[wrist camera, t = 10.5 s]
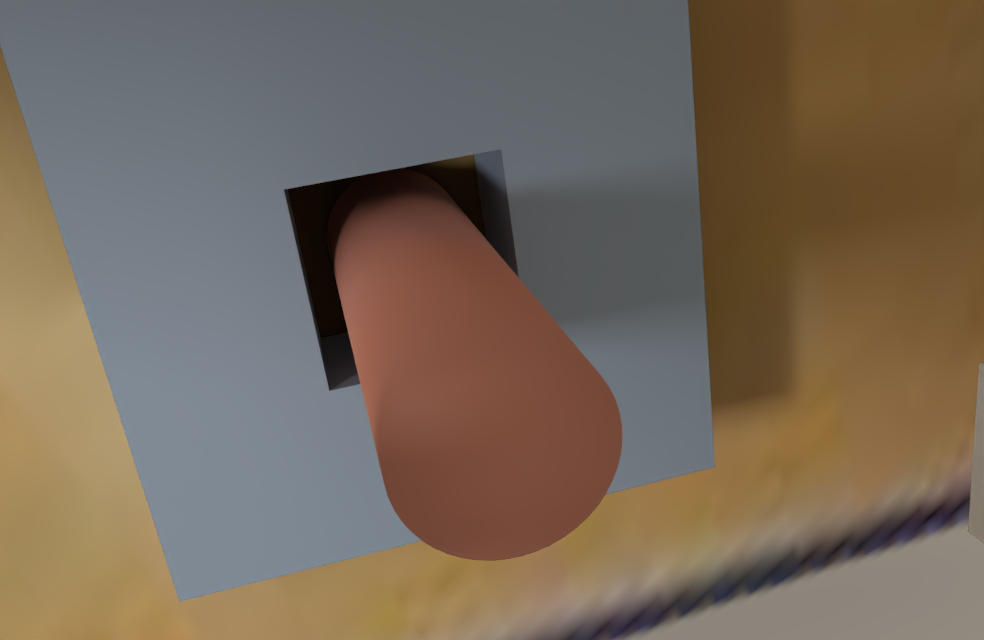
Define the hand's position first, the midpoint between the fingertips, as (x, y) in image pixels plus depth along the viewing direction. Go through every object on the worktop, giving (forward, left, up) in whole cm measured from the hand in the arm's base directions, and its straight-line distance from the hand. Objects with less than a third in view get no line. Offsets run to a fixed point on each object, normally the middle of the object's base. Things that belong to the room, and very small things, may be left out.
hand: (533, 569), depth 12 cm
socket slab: (0, 0, -17) cm, 17 cm away
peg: (0, 0, -17) cm, 17 cm away
